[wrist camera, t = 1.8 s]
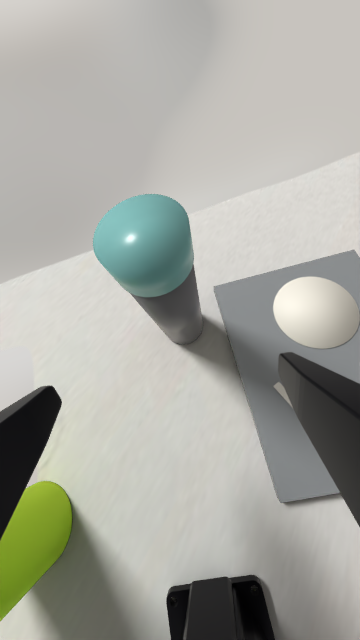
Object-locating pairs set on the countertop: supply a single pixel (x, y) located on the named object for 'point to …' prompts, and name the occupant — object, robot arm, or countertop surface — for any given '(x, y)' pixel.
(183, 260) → the marker
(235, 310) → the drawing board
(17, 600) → the soap dispenser
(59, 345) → the countertop surface
